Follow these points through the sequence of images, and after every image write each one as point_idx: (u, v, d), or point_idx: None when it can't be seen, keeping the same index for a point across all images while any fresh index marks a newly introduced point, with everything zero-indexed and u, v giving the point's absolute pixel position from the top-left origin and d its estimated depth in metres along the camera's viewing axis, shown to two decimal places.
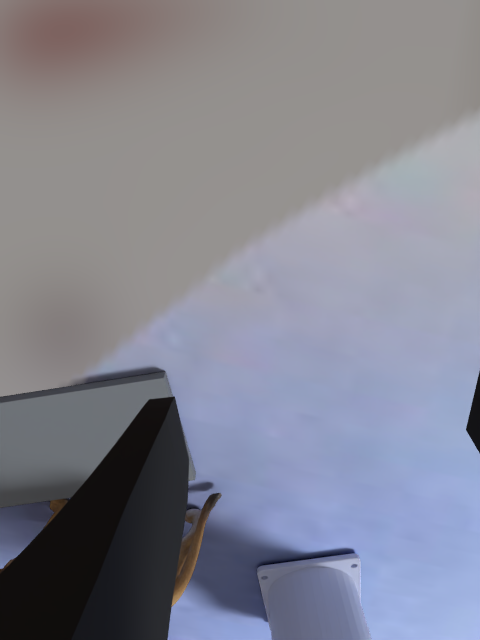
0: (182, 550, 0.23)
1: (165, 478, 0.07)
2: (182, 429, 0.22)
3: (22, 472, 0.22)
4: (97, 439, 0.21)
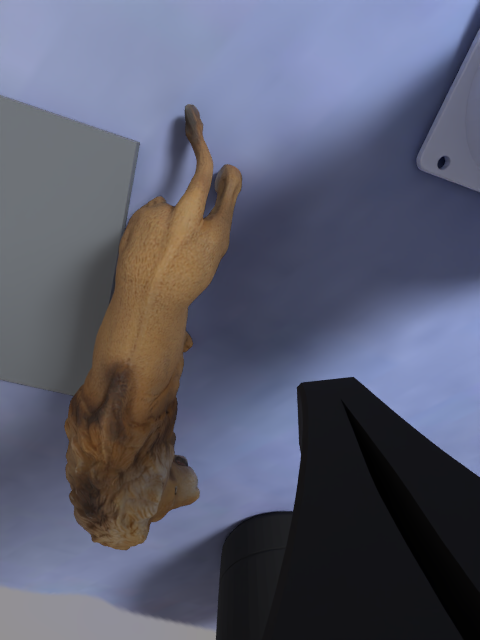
0: (216, 202, 0.13)
1: None
2: (39, 108, 0.14)
3: (42, 343, 0.18)
4: (9, 229, 0.15)
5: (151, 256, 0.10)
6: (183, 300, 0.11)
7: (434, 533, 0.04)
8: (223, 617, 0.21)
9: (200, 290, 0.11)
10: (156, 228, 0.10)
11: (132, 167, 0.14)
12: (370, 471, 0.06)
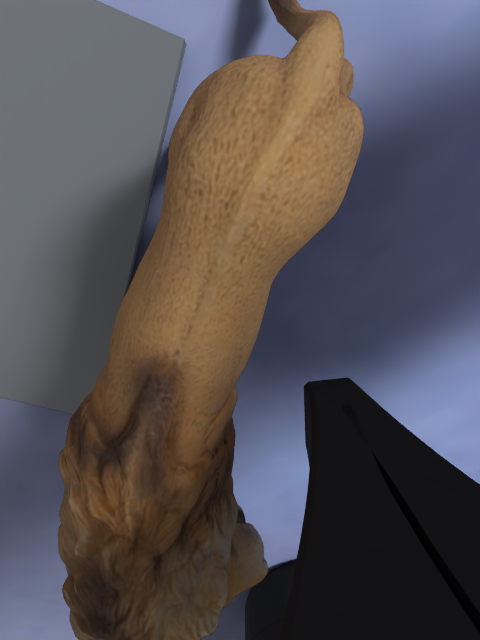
0: None
1: None
2: None
3: (30, 341, 0.13)
4: None
5: (247, 137, 0.05)
6: (293, 239, 0.05)
7: (424, 534, 0.04)
8: None
9: (322, 224, 0.06)
10: (259, 81, 0.05)
11: (174, 80, 0.10)
12: None
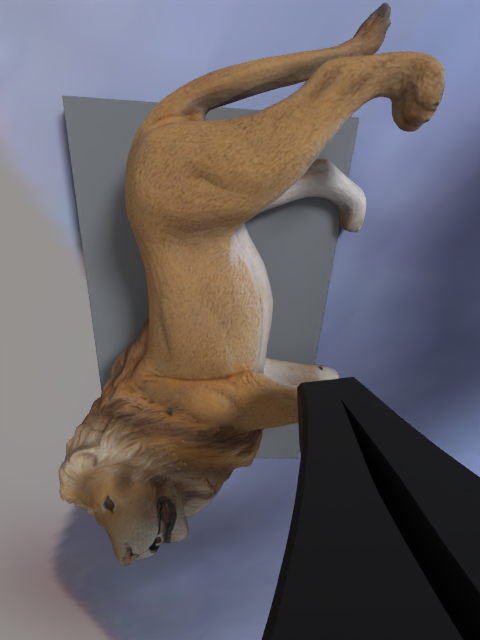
0: None
1: None
2: None
3: None
4: None
5: None
6: (131, 223, 0.09)
7: (434, 533, 0.04)
8: None
9: (140, 210, 0.08)
10: None
11: (351, 154, 0.10)
12: (370, 471, 0.06)
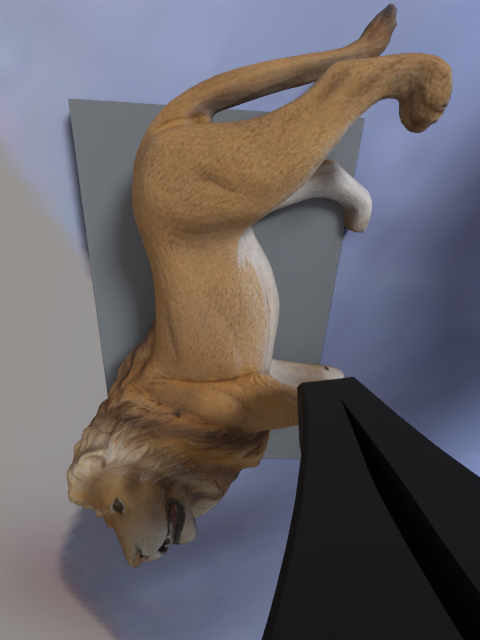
0: None
1: None
2: None
3: None
4: None
5: None
6: (138, 226, 0.09)
7: (434, 533, 0.04)
8: None
9: (148, 213, 0.08)
10: None
11: (356, 155, 0.10)
12: (370, 471, 0.06)
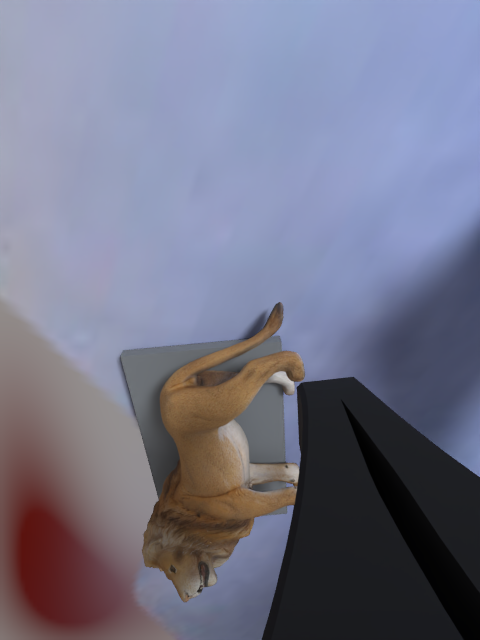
0: None
1: None
2: (205, 343, 0.18)
3: None
4: None
5: None
6: (166, 429, 0.17)
7: (434, 533, 0.04)
8: None
9: (170, 429, 0.16)
10: None
11: None
12: (370, 471, 0.06)
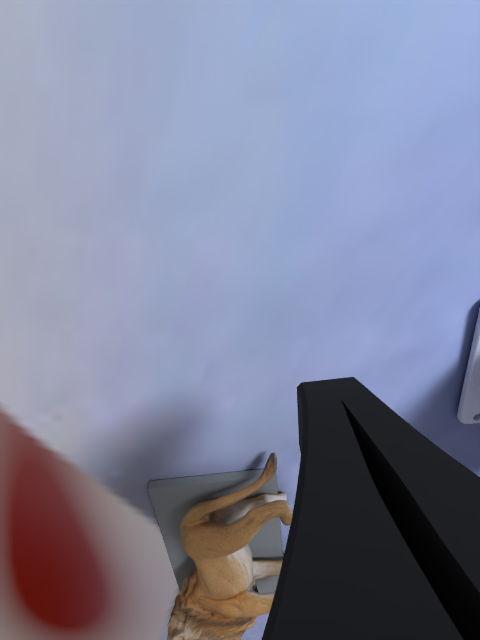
0: None
1: None
2: (215, 475, 0.23)
3: None
4: None
5: None
6: (186, 553, 0.21)
7: (434, 533, 0.04)
8: None
9: (189, 555, 0.21)
10: (186, 513, 0.22)
11: (276, 484, 0.23)
12: (370, 471, 0.06)
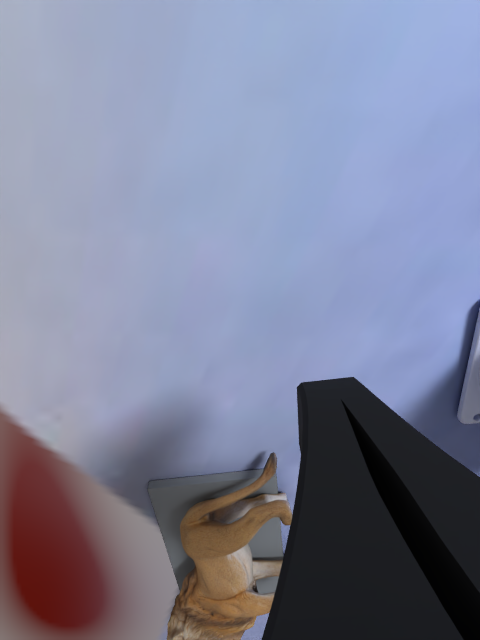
0: None
1: None
2: (215, 475, 0.23)
3: None
4: None
5: None
6: None
7: (434, 533, 0.04)
8: None
9: (189, 555, 0.21)
10: None
11: (276, 484, 0.23)
12: (370, 471, 0.06)
